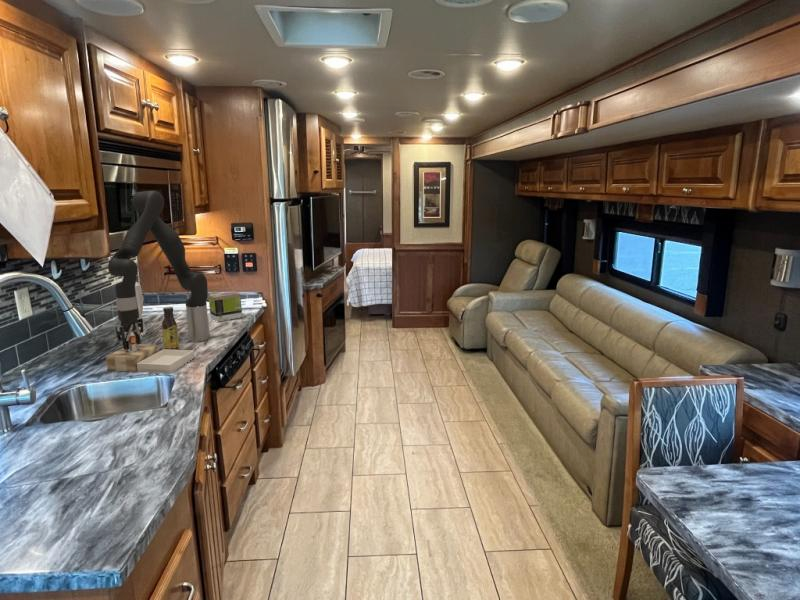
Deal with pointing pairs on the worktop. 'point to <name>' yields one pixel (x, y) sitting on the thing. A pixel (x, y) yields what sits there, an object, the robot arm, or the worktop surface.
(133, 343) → the copper and grey cylinder
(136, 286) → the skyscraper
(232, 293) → the tea box
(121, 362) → the block
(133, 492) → the worktop surface
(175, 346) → the sauce bottle
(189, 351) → the tray
